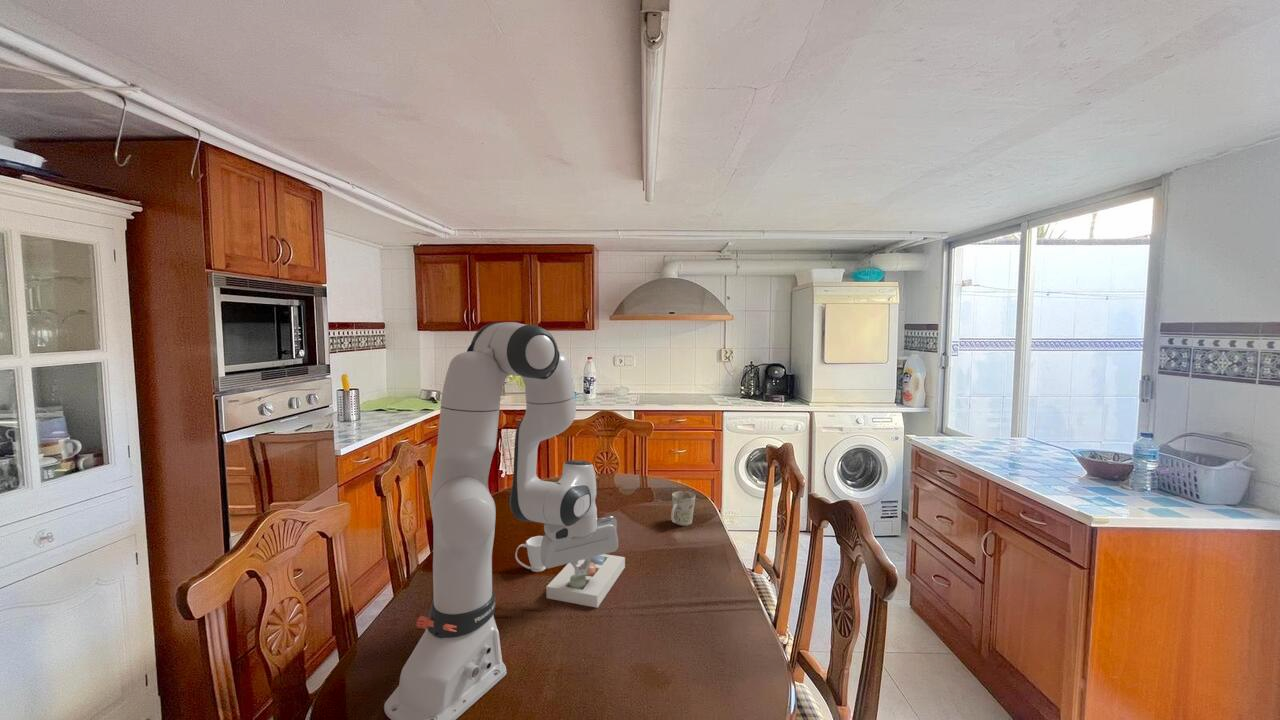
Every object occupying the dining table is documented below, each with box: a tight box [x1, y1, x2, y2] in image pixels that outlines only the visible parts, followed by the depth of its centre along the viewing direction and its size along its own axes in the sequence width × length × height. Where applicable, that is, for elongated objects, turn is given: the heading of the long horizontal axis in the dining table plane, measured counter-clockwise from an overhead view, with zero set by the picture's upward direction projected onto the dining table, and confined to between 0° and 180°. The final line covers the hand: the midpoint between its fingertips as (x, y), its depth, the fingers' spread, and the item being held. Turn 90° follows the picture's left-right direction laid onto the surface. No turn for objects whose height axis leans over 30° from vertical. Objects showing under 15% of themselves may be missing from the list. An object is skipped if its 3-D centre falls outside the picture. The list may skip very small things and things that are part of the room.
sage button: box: [570, 574, 586, 590], centre depth 120 cm, size 4×4×3 cm
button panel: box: [545, 553, 626, 608], centre depth 126 cm, size 21×14×3 cm
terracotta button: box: [581, 562, 595, 577], centre depth 126 cm, size 4×4×3 cm
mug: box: [670, 490, 696, 527], centre depth 164 cm, size 8×13×10 cm, turn 148°
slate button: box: [591, 556, 604, 565], centre depth 132 cm, size 4×4×3 cm
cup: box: [514, 535, 547, 573], centre depth 133 cm, size 7×10×8 cm
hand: (581, 574), depth 120 cm, fingers closed
